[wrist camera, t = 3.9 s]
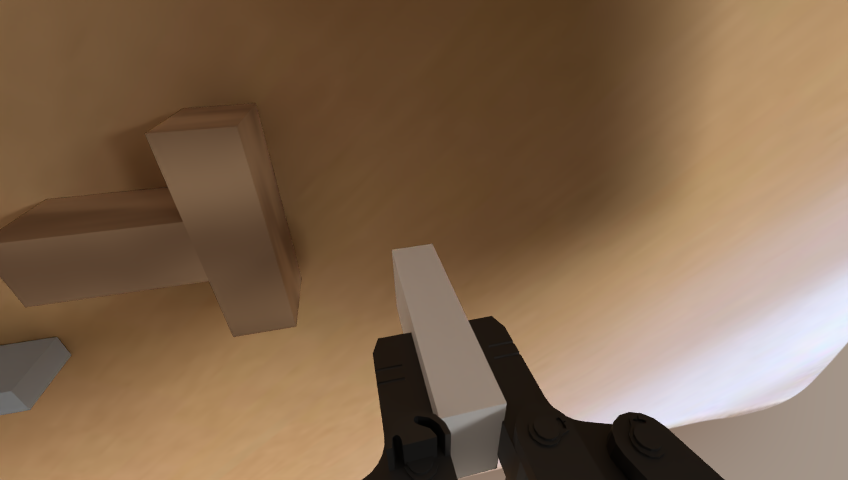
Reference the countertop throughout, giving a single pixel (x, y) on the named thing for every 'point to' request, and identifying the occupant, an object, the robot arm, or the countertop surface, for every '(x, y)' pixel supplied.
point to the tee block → (171, 228)
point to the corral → (28, 372)
